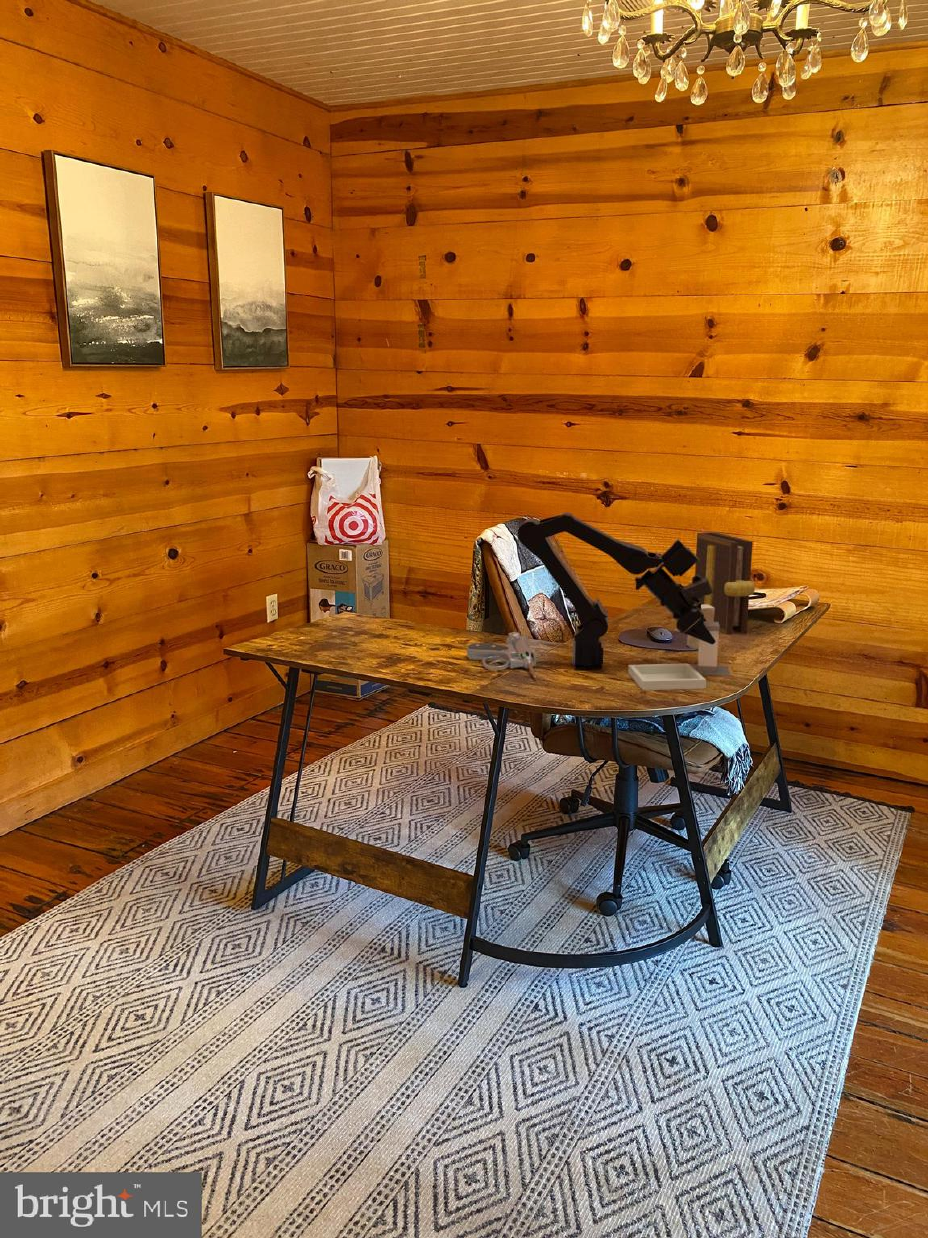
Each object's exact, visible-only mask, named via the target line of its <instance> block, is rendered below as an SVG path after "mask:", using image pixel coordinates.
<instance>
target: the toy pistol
mask: <svg viewBox="0 0 928 1238" xmlns="http://www.w3.org/2000/svg"><path fill="white" fill-rule="evenodd" d="M466 653H467V659H468V658H469V659H468V660H470V659H473V660H472V661H474V660H481V661H480V662H482V665H483V667H484V668H485V669H488V670H493V671H494V670H495V671H496V670H503V669H507V668H509V669H510V670H511V669H516V668H524V669H525V670H529V671H530V673H531V675H532V677H533V679H537V674H536V672H535V669H534V667H535V665H536V663H537V656H536V654H535V652H534V650H533V648H532V646H531V644H530V643H529V640H528V636H527V635H521V634H520V632H518V631H512V632H509V633H508V637H507V638H506V644H503V643H491V642H474V643H471V644H468V645H467V647H466ZM487 661H492V662H489V664H487V663H488V662H487ZM497 662H499V664H502V663H503V664H502V665H493V664H495V663H496V664H497Z"/></svg>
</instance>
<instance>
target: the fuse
mask: <svg viewBox="0 0 928 1238" xmlns="http://www.w3.org/2000/svg"><path fill="white" fill-rule="evenodd" d="M704 624H705V626H706V627H707V629H708V630H709V632H710V633H711V635H712V636H713V638H714V639H715V641H716V642H715V643H714V644H713V645H712V644H709V643H707V642H705V641H702V640H700V639H699V649H698V654H697V663H696V665H697V668H698V672H716V673H717V666H718V650H719V634H720V632H719V627H720V626H719V623H718V622H705V621H704Z"/></svg>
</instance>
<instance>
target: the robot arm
mask: <svg viewBox="0 0 928 1238" xmlns="http://www.w3.org/2000/svg"><path fill="white" fill-rule="evenodd" d="M564 532H565V533H568V534H569V535H571V536H573V537H574V538H577V539H579V540H581V541H583V542H584V543H586V544H587V545H590V546H591V547H594V548H595V549H597V550H599V551H600V552H603V553H605V554H606V555H608V556H609V557H611V558H612V559H613V560H614V561H615V562H616V563H617V564H618V565H620V566H621V568H623V569H624V570H625V571H627V572H628V573H630V574H631V575H634V576H635V577H634V581H635V590H636V591H639V590H640V589H641V588H642V587H645V588H646V589H647V590H648V591H649V592H650V594H652V595H653V596H654V597H655V598H656V600H657V601H659V605H661V607H665V609H666V610H668V611H669V613H670V614H671V616H672V617H673V618H674V620H676V621H675V626H676V629H677V630H678V631H679V632H680V633H681V634H684V635H687V636H688V635H690V636H692V637H695V638H697V639H700V640H702V641H705V642H707V643H709V644H712V645H713V644H714V643H715V642H716V641H715V639H714V638H713V636H712V635H711V633H710V632H709V630H708V629H707V627H706V626H705V624H704V621H705V622H707V621H706V619H705V618H704V614H703V613H702V611H701V602H699V601H700V600H699V598H700V597H703V596H705V595H710V594H712V593H713V590H712V588H711V585H710V583H709V581H708V578H705V577H704V578H701V577H700V576H699V575H696V576H695V575H694V576H692V578H691V583H690V582H689V583H688V584H687V585H685V586H683V585H682V583H678V582H676V581H675V580H674V579H673V577H678V576H679V577H682V576H683V575H685V574H686V572H688V571H689V570H690V569H691V568H692V567H694V565H695V564H696V563H697V562H698V561H699V559H698V557H697V556H696V553H694V551H693V550H691V549H690V547H687V546H686V545H685V544H684V543H683V542H682V541H680V539H679V538H678V539H676V540H675V541H674V542H673V543H672V544H671V546H669V548H667V550H665V551H664V552H663V553H659V552H653V551H652V552H650V551H647V549H646V548H644V547H642V546H639V545H636V544H634V543H632V542H627V541H623V540H619V539H617V538H614V537H612V536H611V535H609V534H608V533H605V532H604V531H602V530H600V529H598V528H596V527H594V526H592V525H591V524H589V523H587V522H585V521H583V520H582V519H580V518H578V517H576V516H575V515H573V513H571V512H563V513H561V514H558V515H554V516H550V517H545V518H541V519H538V518H529V519H526V520H524V522H522V523H521V525H520V526H519V528H518V529H517V538H518V541H519V542H520V544H521V545H523V547H525V548H526V549H527V550H528V551H529V552H530V553H532V554H533V556H535V557H536V558H537V559H538V560H540V562H541V563H542V564H543V566H544V568H545V569H546V570H547V571H548V573H549V574H550V575H551V577H552V579H553V580H554V581H555V583H556V584H557V585H558V587H559V588H560V589H561V591H562V592H563V594H564V595H565V596H566V598H567V599H568V601H569V602H570V603H571V605H572V606H573V607H574V611H575V613H576V615H577V617H578V620H579V623H580V624H579V625H578V626H577V627H576V628H575V631H574V635H573V638H574V639H572V660H570V663H571V665H572V667H573V668H574V669H575V670H602V669H603V667H604V666H603V664H604V653H605V651H604V647H603V646H602V641H601V640H600V638H602V637H603V636H605V635H606V634H607V631H608V630H609V623H610V619H609V610H608V609H606V608H605V607H604V605H603V603H602V601H601V600H600V598H597V599H596V600H593V599H591V598H590V597H589V596H588V595H587V594H586V592H585V591H584V589H583V588H582V586H581V585H580V584H579V582H578V581H577V580H576V578H575V577H574V575H573V574H572V572H571V571H570V570H569V569H568V567H567V566H566V564H565V563H564V561H563V559H562V558H561V557H560V556H559V554H558V553H557V551H556V550H555V548H554V546H553V543H552V541H551V539H550V538H551V537H552V536H555V535H557V534H561V533H564ZM664 568H665V569H666V570H667V571H668V572H669V574H670V575H672V576H670V575H669V574H668V573H667V572H666V570H665V569H664ZM652 569H653V570H652ZM637 575H641V576H637ZM695 602H699V603H697V604H696V605H695V604H694V603H695Z"/></svg>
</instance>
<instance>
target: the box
mask: <svg viewBox="0 0 928 1238" xmlns="http://www.w3.org/2000/svg"><path fill="white" fill-rule="evenodd" d="M701 611H702V613H703V614H704V618H705V619H706V621H707V622H714V611H715V608H714V607H712V606H710V605H708V604H704V605H701ZM687 645H688V646H689V647H690V649H693V650H699V639H697V638H695V637H692V636H690V635H687V639H686V646H687ZM689 647H688V648H689Z"/></svg>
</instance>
